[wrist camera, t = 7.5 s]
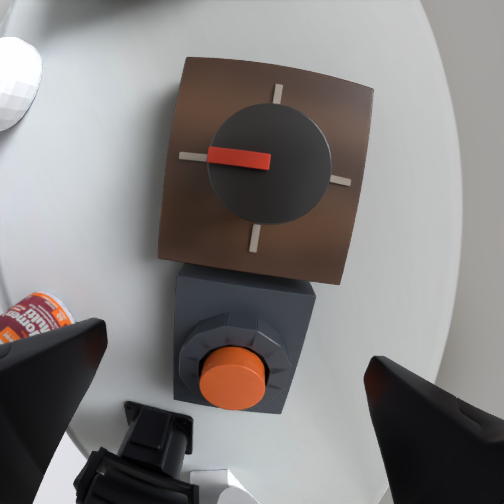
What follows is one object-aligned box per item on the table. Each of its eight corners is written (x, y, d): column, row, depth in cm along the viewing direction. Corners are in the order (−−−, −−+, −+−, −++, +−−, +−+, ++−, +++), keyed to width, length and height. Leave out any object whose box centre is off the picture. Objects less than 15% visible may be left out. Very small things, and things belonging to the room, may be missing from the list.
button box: (279, 393, 21) (282, 430, 17) (180, 379, 20) (168, 414, 17) (309, 280, 18) (322, 308, 14) (185, 262, 18) (168, 286, 14)
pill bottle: (80, 304, 19) (-11, 389, 8) (81, 361, 20) (17, 447, 10) (28, 278, 18) (-63, 338, 8) (33, 335, 20) (-36, 401, 9)
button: (259, 394, 16) (259, 413, 15) (202, 386, 16) (198, 405, 14) (269, 350, 15) (270, 369, 14) (206, 341, 15) (200, 359, 14)
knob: (316, 131, 13) (342, 114, 9) (303, 217, 14) (323, 235, 10) (227, 117, 13) (215, 93, 8) (215, 204, 14) (198, 218, 10)
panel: (327, 268, 18) (340, 287, 15) (171, 245, 18) (155, 259, 14) (356, 100, 15) (375, 87, 12) (196, 74, 15) (185, 55, 12)
